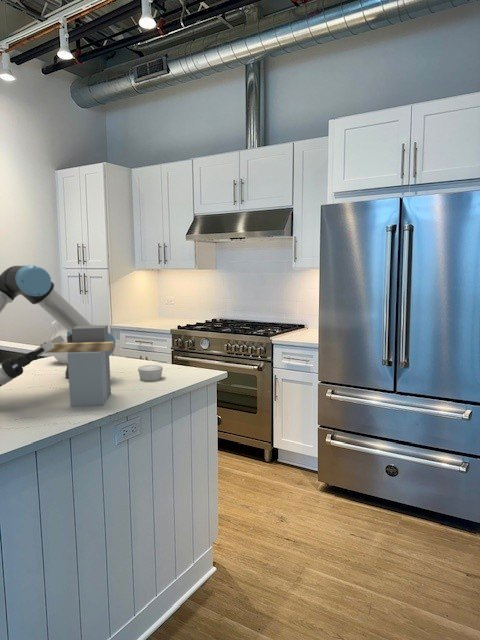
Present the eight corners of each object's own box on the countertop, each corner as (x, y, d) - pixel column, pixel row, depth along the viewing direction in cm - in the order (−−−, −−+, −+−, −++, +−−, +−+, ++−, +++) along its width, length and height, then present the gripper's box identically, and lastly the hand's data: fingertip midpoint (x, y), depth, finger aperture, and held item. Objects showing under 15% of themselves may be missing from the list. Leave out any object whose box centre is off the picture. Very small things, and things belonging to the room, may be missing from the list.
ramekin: (157, 382, 205) (157, 370, 204) (134, 381, 207) (133, 369, 206) (166, 376, 216) (166, 365, 215) (144, 375, 218) (143, 364, 217)
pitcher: (79, 357, 263) (76, 313, 260) (93, 361, 249) (91, 316, 246) (45, 362, 250) (42, 316, 247) (59, 367, 237) (56, 319, 234)
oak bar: (40, 353, 170) (40, 344, 170) (43, 351, 173) (42, 343, 173) (112, 350, 173) (112, 342, 172) (114, 349, 176) (113, 341, 175)
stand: (70, 406, 171) (66, 331, 168) (80, 394, 187) (76, 325, 184) (103, 405, 172) (99, 330, 169) (111, 393, 188) (107, 325, 185)
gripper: (-13, 369, 158) (40, 337, 159) (14, 355, 183) (61, 327, 183) (0, 387, 159) (53, 355, 160) (25, 371, 184) (71, 343, 185)
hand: (57, 340), depth 172 cm, fingers open, 13 cm apart
